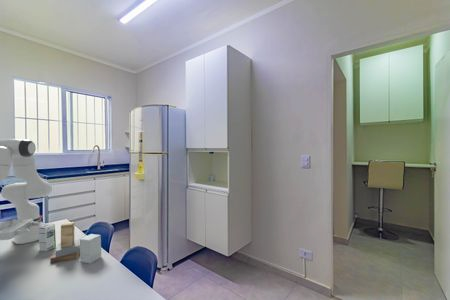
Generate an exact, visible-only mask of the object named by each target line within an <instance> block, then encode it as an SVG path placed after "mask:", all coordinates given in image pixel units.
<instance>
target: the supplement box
mask: <svg viewBox="0 0 450 300" xmlns="http://www.w3.org/2000/svg"><path fill="white" fill-rule="evenodd" d="M101 236H102V235H101V234H94V233H90V234H88V235H85V236H84V237H82V238H79V239H78V240H79V245H80V255H79V259H80V261H79V262H80V263H86V264H92V263H94V262H95V261H97V260H98V259H100V258H102V237H101Z"/></svg>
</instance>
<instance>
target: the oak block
mask: <svg viewBox="0 0 450 300" xmlns="http://www.w3.org/2000/svg"><path fill="white" fill-rule="evenodd" d="M74 240H75V221H70V222H69V221H67V222H63V223H62V224H61V225H60V243H61V247H66V246H72V244H73V243H74Z"/></svg>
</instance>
